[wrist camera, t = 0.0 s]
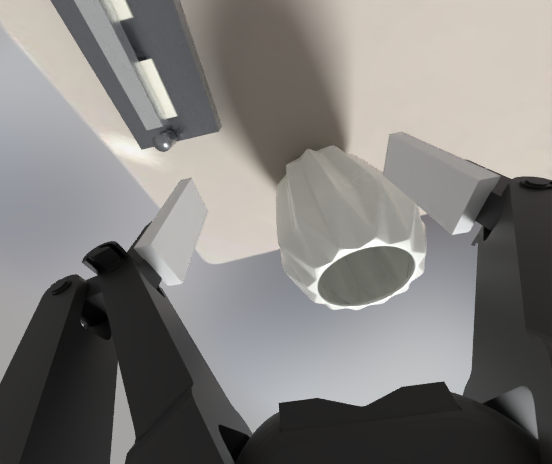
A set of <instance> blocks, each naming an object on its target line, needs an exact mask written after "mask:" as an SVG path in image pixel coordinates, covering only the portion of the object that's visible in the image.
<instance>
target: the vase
mask: <svg viewBox="0 0 552 464" xmlns="http://www.w3.org/2000/svg"><path fill="white" fill-rule="evenodd" d="M276 220H277V236H278V244H279V246H280V250H281V261H282V268H283V270H284V271H285V273H286V274H287V275H288V276H289V277H290V278H291V279H292V280H293V281H294V282H295V284H296V285H297V286H298V287H299V288H300V289H301V290H302V291H303V292H304V293H305V294H306V295H307V296H308V297H309V298H310V299H311V300H312V301H313V302H315V303H320V304H325V305H327V306H328V307H329V308H331V309H332V310H337V309H343V308H350V309H353V310H359V309H362V308H364V307H366V306H368V305H376V304H382V303H385V302H386V301H387V300H388V299H389V298H390V297H392V296H394V295H397V294H400V293H403V292H405V291H407V290H408V288H409V285H410V282H411V281H413V280H414V279H416V278H417V277H419V276H420V275H422V273H423V272H424V266H425V255H426V251H427V245H426V244H427V243H426V229H425V224H424V223H423V221H422V220H421V219H420V213H419V209H418V205H417V204H416V203H415V202H413V201H412V200H411V199H410V198H409V197H408V196H406V195H405V194H404V193H403V192H402V191H401V190H399V189H398V188H397V187H396V186H395V185H394V184H393V183H391V182H390V181H389V180H388V179H387V178H386V177H384V176H383V172H381V171H380V170H378V169H377V168H375V167H374V166H372V165H371V164H369V163H368V162H366V161H364V160H363V159H361V158H359V157H358V156H356V155H354V154H346V153H345V152H344V151H342V150H341V149H339V148H337V147H336V146H334V145H331V146H328V147H325V148H322V149H319V150H317V151H314V150H311V149H307V150H306V151H305V152H304V153H303V154H302V155H301V156H300V158H298V159H296V160H294V161H292V162H290V163H288V164H287V165H286V175H285V176H284V177H283V179H282V180H281V181H280V182H279V184H278V185H277V192H276Z"/></svg>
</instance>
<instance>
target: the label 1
mask: <svg viewBox="0 0 552 464" xmlns="http://www.w3.org/2000/svg"><path fill="white" fill-rule="evenodd" d="M109 1H110V3H111V5H112V7H113V9H114V11H115V13H116V15H117V17H118V19H119V21H121V20H125V19H128V18H132V17H133V15H132V13H131V11H130V8H129V6H128V4H127V2H126V0H109Z"/></svg>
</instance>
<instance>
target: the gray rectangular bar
mask: <svg viewBox="0 0 552 464" xmlns="http://www.w3.org/2000/svg"><path fill="white" fill-rule="evenodd" d="M74 1H75V3H76V5H77V7H78V8H79V10H80V12H81V14H82V16H83V17H84V19H85V21H86V23H87V24H88V26H89V28H90V30H91V32H92V33H93V35H94V37H95V39H96V41H97V42H98V44H99V46H100V48H101V49H102V51H103V53H104V55H105V57H106V58H107V60H108V62H109V64H110V66H111V67H112V69H113V71H114V73H115V74H116V76H117V78H118V80H119V82H120V83H121V85H122V87H123V89H124V91H125V92H126V94H127V96H128V98H129V99H130V101H131V103H132V105H133V107H134V108H135V110H136V112H137V114H138V116H139V117H140V119H141V121H142V123H143V124H144V126H145V128H146V130H151V129H155V128H159V127H163V126H165V125H166V124H168V123H169V122H168V120H167V118H166V116H165V114H164V112H163V110H162V108H161V106H160V104H159V102H158V100H157V98H156V96H155V94H154V92H153V89H152V87H151V85H150V83H149V81H148V79H147V77H146V75H145V73H144V71H143V69H142V67H141V65H140V63H139V61H138V58H137V56H136V54H135V52H134V50H133V48H132V46H131V44H130V42H129V40H128V38H127V36H126V34H125V32H124V30H123V27H122V25H121V23H120V21H119V19H118V17H117V15H116V13H115V11H114V9H113V7H112V5H111V3H110V1H109V0H74ZM152 142H153V145H154V147H155V148H156V149H157V150H159V151H162V152H165V151H168V150H169V149H170V148H171V147H172V146H173V145H174V144H175V143H176V136H175V134H174V133H173V132H172V131H170V130H163V131H161V132H160V133H158V134H157V135H155V136H154V137H153V139H152Z"/></svg>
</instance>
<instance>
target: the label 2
mask: <svg viewBox="0 0 552 464" xmlns="http://www.w3.org/2000/svg"><path fill="white" fill-rule="evenodd" d="M139 63H140V65H141V67H142V69H143V71H144V73H145V75H146V77H147V79H148V81H149V83H150V85H151V87H152V89H153V92H154V94H155V96H156V98H157V100H158V102H159V104H160V106H161V108H162V110H163V112H164V114H165V116H166V118H172V117H176V116H178V115H177V113H176V111H175V109H174V106H173V104H172V102H171V100H170V97H169V95H168V93H167V91H166V89H165V86H164V84H163V82H162V80H161V77H160V75H159V73H158V71H157V69H156V66H155V64H154V62H153V60H152V59H148V60H144V61H140V62H139Z"/></svg>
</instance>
